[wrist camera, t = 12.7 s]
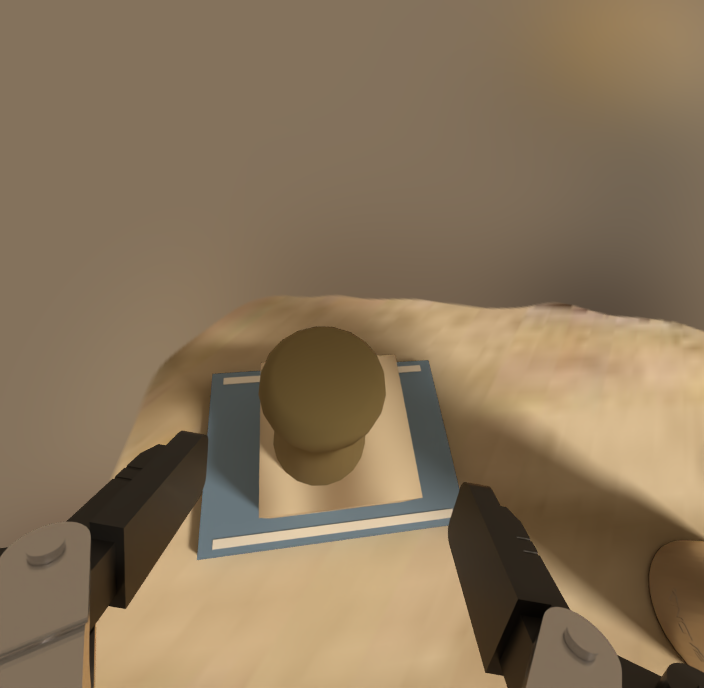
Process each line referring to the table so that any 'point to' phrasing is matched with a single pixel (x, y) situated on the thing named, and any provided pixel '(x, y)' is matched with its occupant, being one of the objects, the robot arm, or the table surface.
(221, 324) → the table surface
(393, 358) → the maple pedestal
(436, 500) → the board
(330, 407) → the cork
